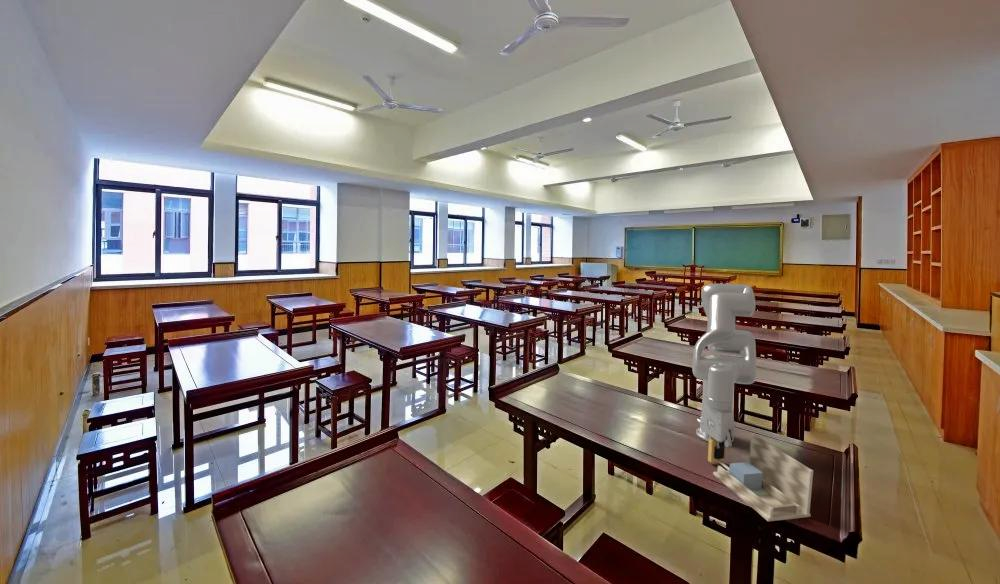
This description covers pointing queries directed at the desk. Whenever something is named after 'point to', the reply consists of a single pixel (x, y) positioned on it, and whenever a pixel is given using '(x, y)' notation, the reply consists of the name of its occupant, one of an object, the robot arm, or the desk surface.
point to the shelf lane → (774, 483)
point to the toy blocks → (738, 469)
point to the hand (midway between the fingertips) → (716, 456)
